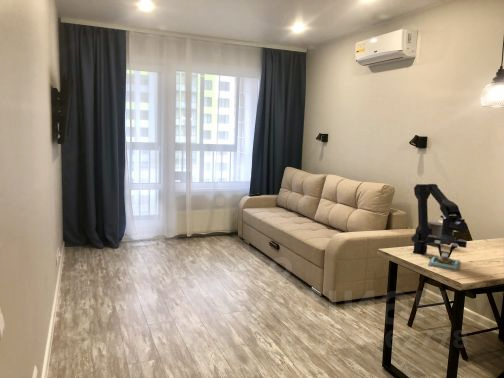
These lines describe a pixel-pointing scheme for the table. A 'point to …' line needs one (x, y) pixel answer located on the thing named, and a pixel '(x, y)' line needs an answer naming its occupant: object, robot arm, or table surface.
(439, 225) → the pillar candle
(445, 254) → the planet gear
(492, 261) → the table surface
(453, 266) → the carrier plate
